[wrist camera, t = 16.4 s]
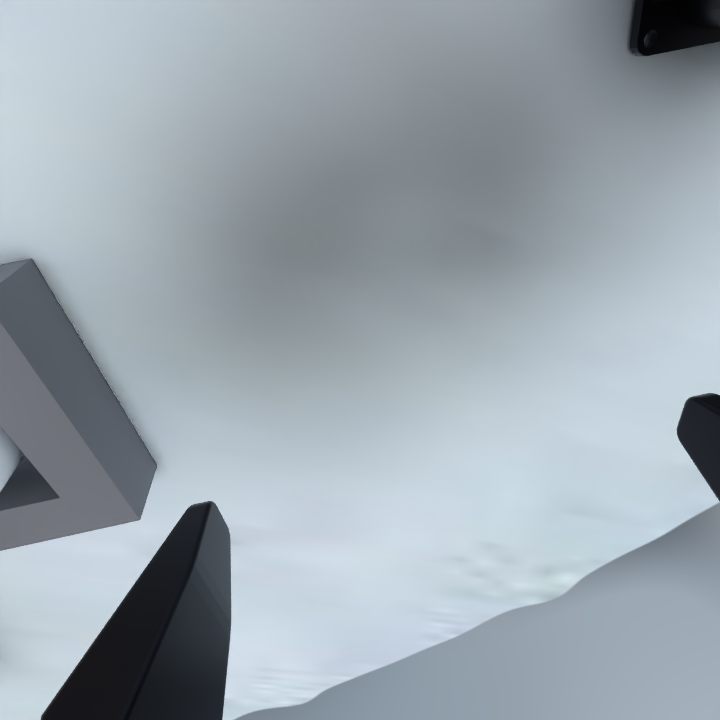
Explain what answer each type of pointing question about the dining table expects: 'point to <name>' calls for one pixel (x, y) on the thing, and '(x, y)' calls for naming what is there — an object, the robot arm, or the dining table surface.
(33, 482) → the button box
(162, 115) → the dining table surface
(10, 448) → the dome
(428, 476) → the dining table surface
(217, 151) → the dining table surface
